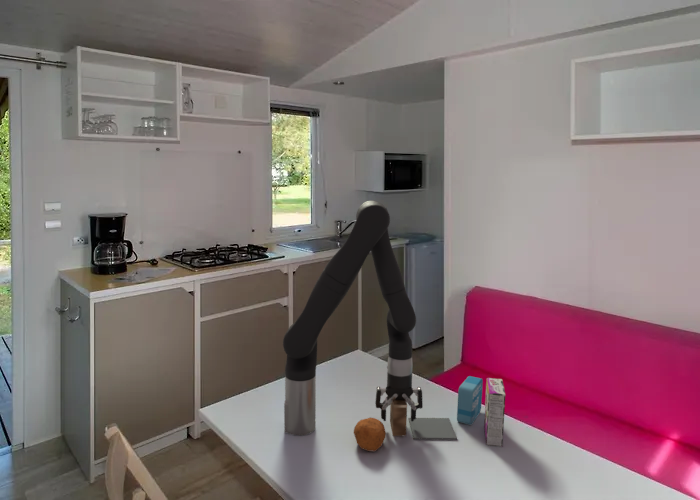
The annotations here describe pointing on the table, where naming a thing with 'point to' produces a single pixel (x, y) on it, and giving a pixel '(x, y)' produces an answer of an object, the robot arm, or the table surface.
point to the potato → (369, 434)
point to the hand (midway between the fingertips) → (398, 420)
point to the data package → (469, 400)
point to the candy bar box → (494, 412)
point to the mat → (432, 429)
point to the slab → (398, 417)
